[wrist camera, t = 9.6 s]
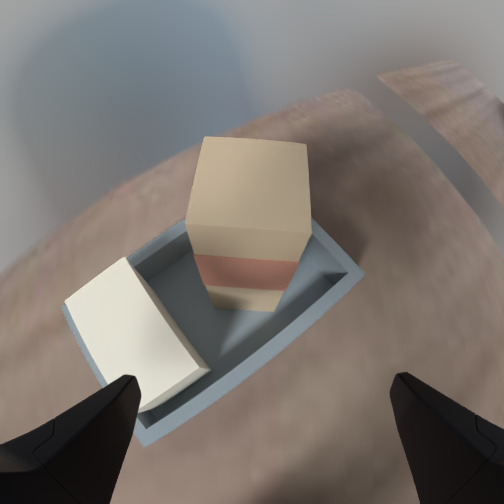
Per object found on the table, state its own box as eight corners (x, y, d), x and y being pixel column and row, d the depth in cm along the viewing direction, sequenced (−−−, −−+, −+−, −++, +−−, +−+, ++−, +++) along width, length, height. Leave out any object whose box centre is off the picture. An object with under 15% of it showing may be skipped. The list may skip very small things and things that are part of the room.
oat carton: (274, 312, 23) (312, 234, 11) (212, 307, 23) (182, 224, 11) (276, 255, 25) (307, 143, 13) (218, 251, 25) (203, 135, 13)
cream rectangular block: (161, 406, 19) (128, 415, 13) (108, 324, 22) (64, 301, 15) (211, 370, 21) (199, 367, 14) (153, 290, 23) (124, 256, 17)
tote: (159, 437, 18) (144, 447, 15) (84, 318, 22) (61, 307, 18) (348, 290, 24) (365, 274, 21) (260, 197, 28) (263, 170, 24)
